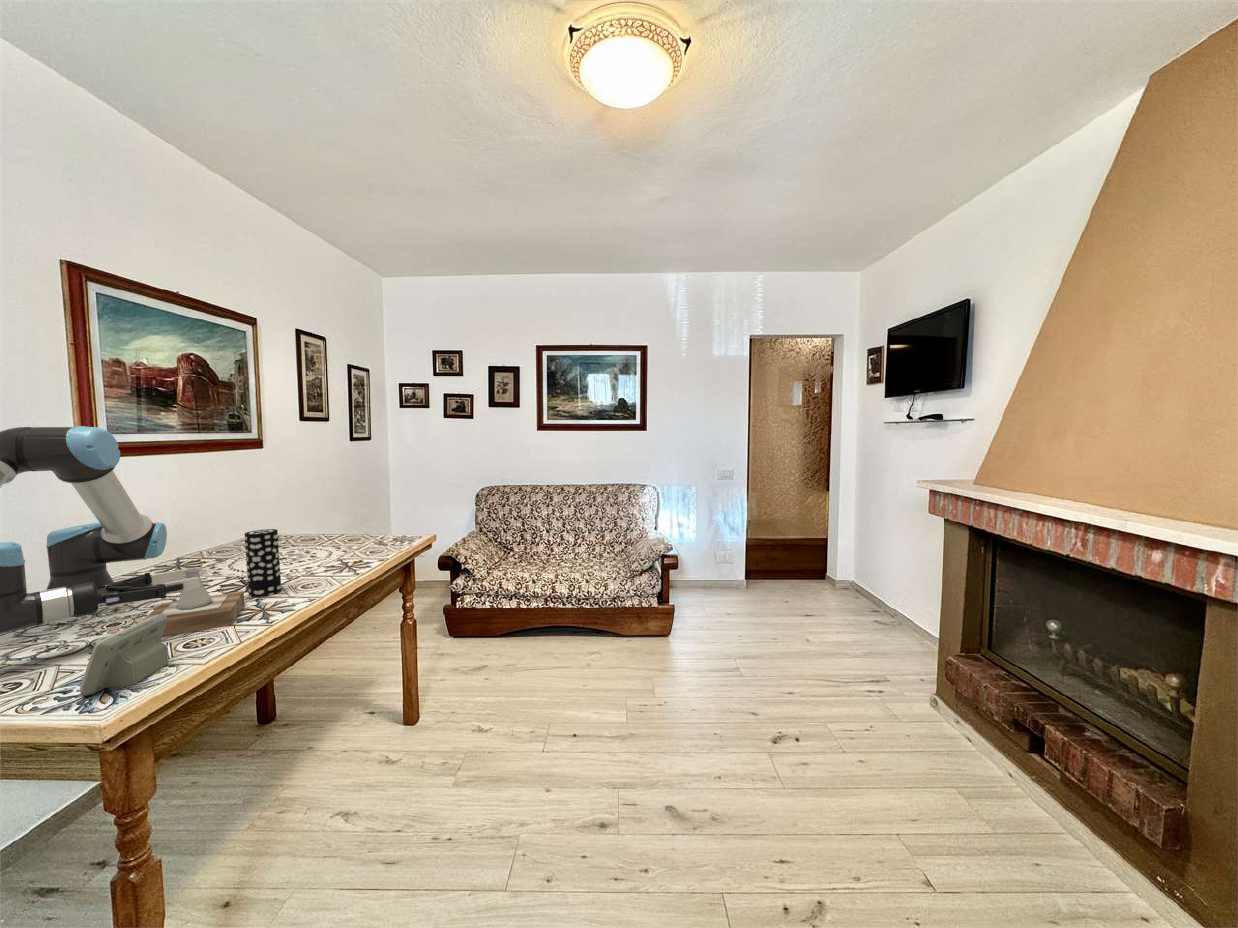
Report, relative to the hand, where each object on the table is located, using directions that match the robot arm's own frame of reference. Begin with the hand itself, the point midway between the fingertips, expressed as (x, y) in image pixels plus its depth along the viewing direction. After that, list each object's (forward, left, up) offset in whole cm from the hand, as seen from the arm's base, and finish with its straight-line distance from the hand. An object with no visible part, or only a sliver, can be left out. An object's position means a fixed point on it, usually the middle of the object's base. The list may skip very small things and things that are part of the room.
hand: (191, 577), depth 125 cm
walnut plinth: (0, 0, -12) cm, 12 cm away
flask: (0, 0, -8) cm, 8 cm away
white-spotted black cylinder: (-18, +13, -12) cm, 26 cm away
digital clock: (+31, -4, -12) cm, 34 cm away
